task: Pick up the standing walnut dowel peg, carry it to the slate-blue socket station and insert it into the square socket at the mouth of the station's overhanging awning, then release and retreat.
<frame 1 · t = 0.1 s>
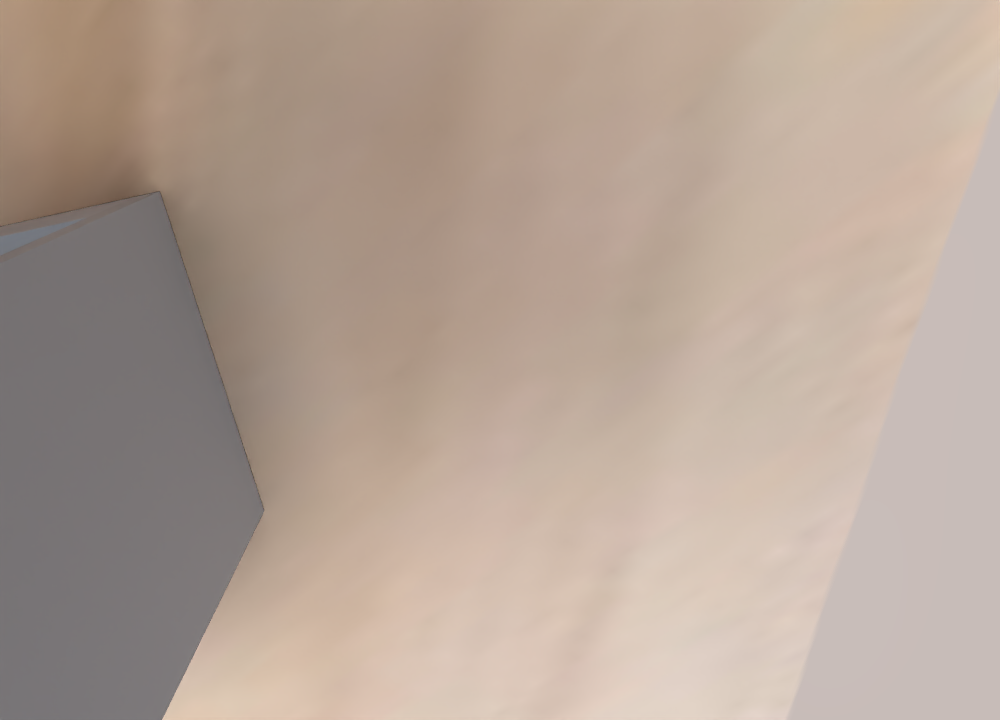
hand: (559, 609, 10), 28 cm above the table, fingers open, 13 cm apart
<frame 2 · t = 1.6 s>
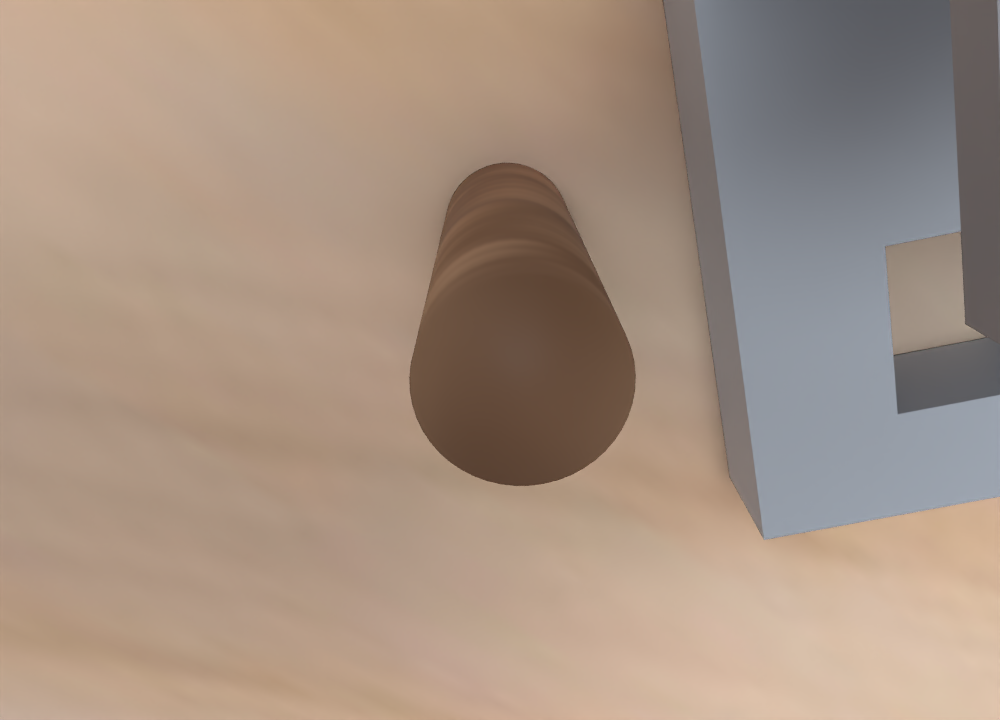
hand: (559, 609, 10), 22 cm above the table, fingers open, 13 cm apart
peg: (506, 225, 31), on the table
socket station: (915, 278, 32), on the table
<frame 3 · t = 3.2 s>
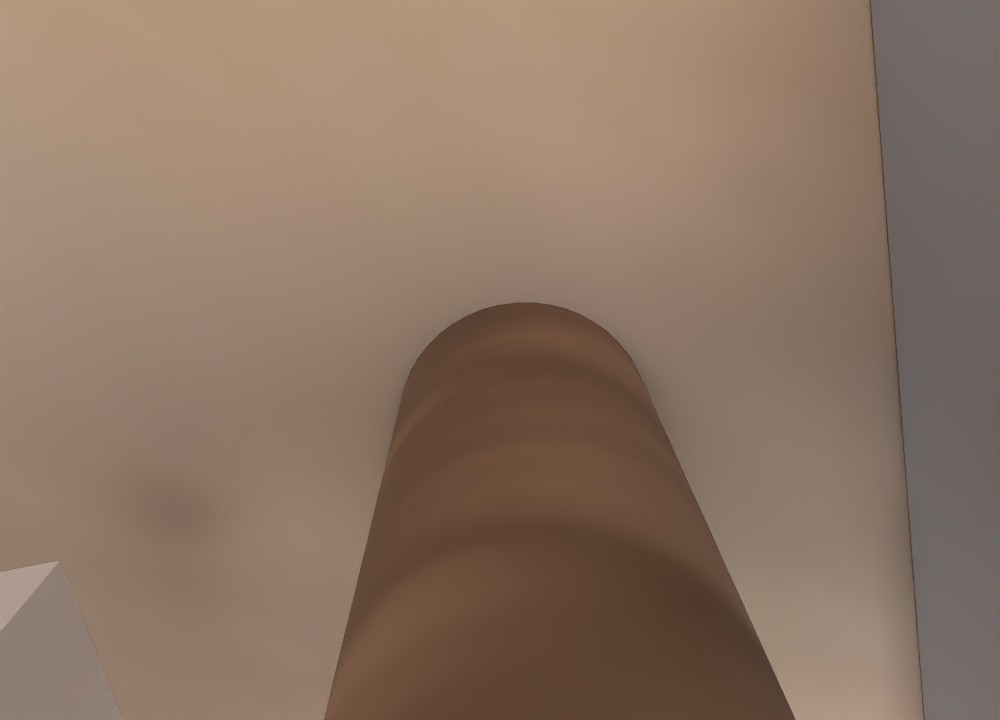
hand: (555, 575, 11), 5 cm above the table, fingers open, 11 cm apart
peg: (523, 422, 15), on the table
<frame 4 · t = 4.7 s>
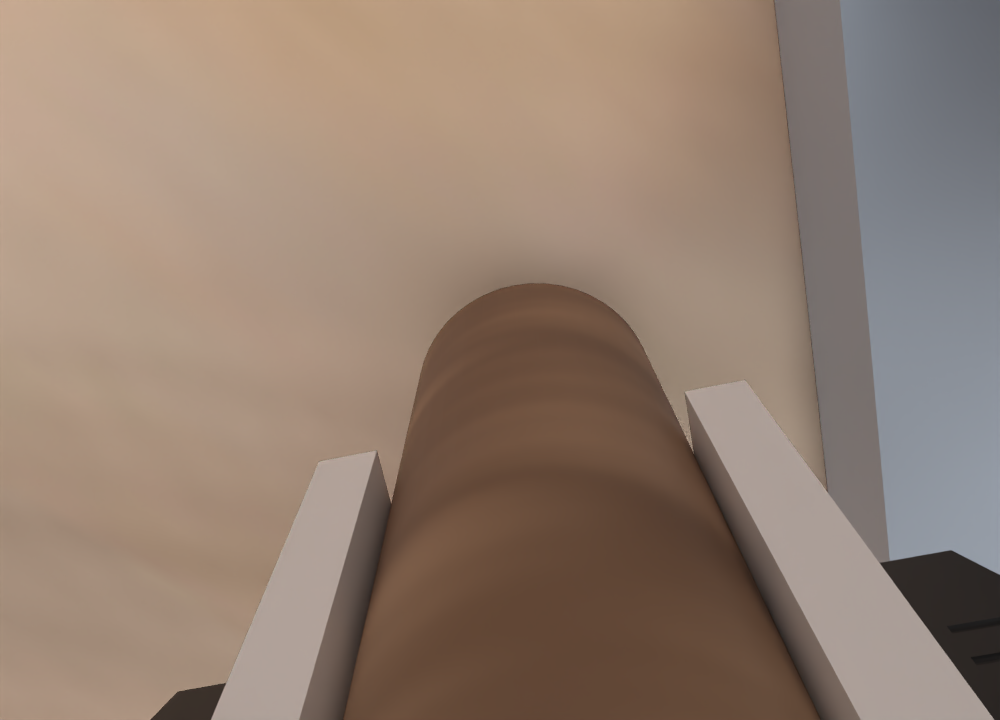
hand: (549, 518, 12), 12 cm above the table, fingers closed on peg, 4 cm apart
peg: (535, 397, 16), point 7 cm above the table, touching gripper
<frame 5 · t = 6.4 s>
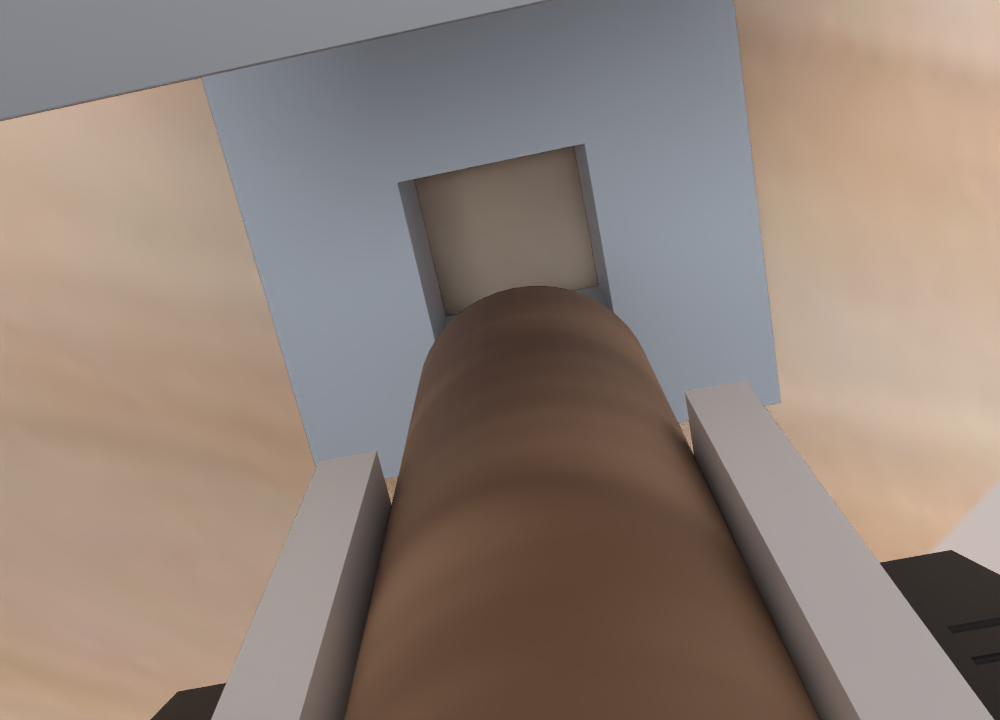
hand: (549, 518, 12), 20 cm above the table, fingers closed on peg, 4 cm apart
peg: (535, 400, 16), point 16 cm above the table, touching gripper
socket station: (506, 225, 31), on the table
when the fingers open (6 cm above the table, at t = 8.8 s): peg drops 1 cm, resting in socket station.
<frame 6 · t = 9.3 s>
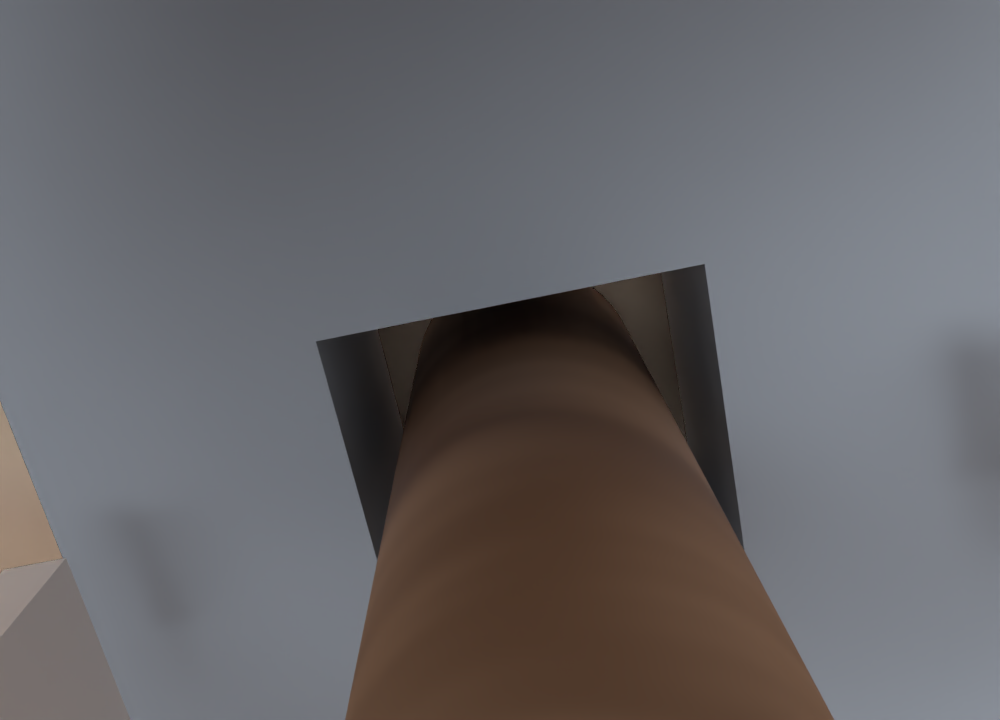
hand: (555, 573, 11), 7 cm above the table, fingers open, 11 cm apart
peg: (526, 373, 18), resting in socket station
socket station: (532, 372, 18), on the table
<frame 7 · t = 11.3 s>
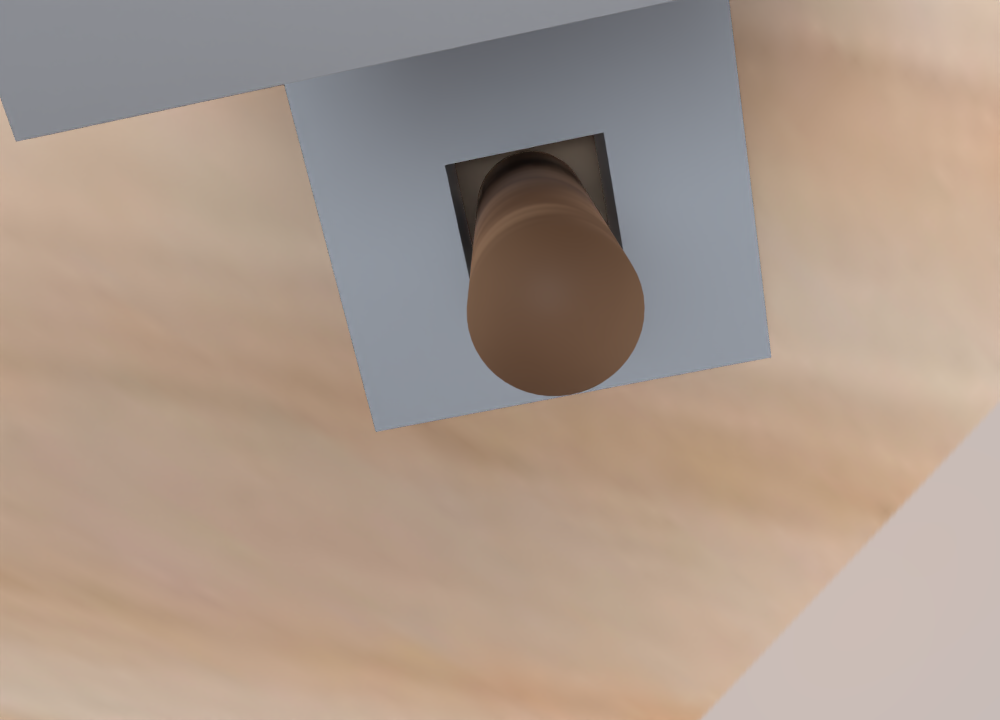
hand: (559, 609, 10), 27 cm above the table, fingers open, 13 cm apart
peg: (531, 205, 36), resting in socket station
socket station: (534, 205, 36), on the table
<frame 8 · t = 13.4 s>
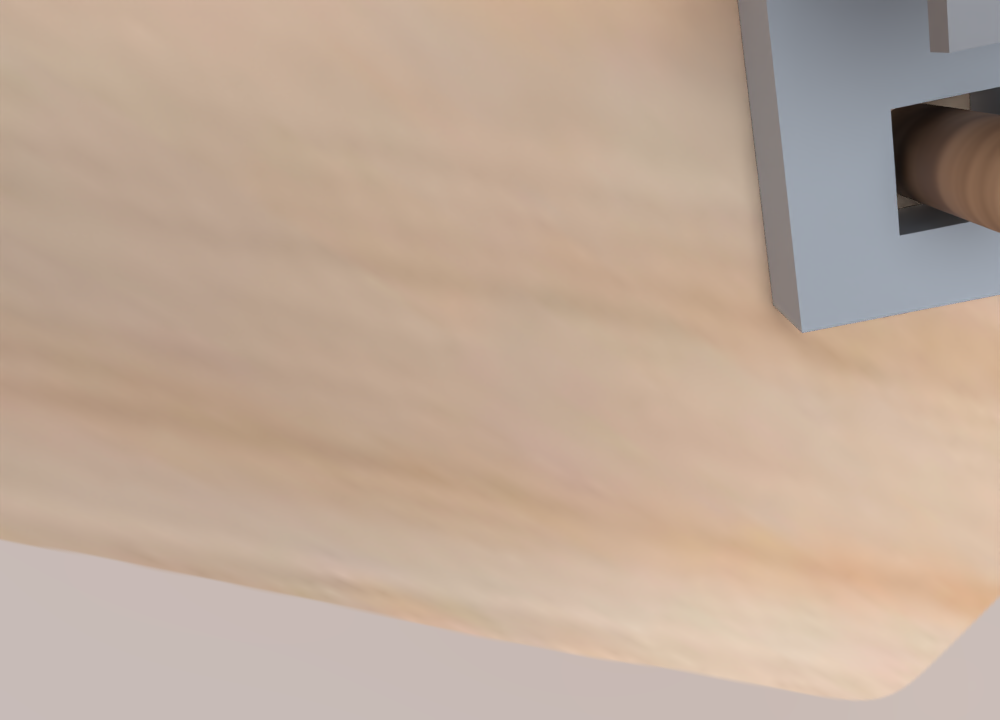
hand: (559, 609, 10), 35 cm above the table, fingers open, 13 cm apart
peg: (910, 149, 43), resting in socket station
socket station: (913, 148, 43), on the table
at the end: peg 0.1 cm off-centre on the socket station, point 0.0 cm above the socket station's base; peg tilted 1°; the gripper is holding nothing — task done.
